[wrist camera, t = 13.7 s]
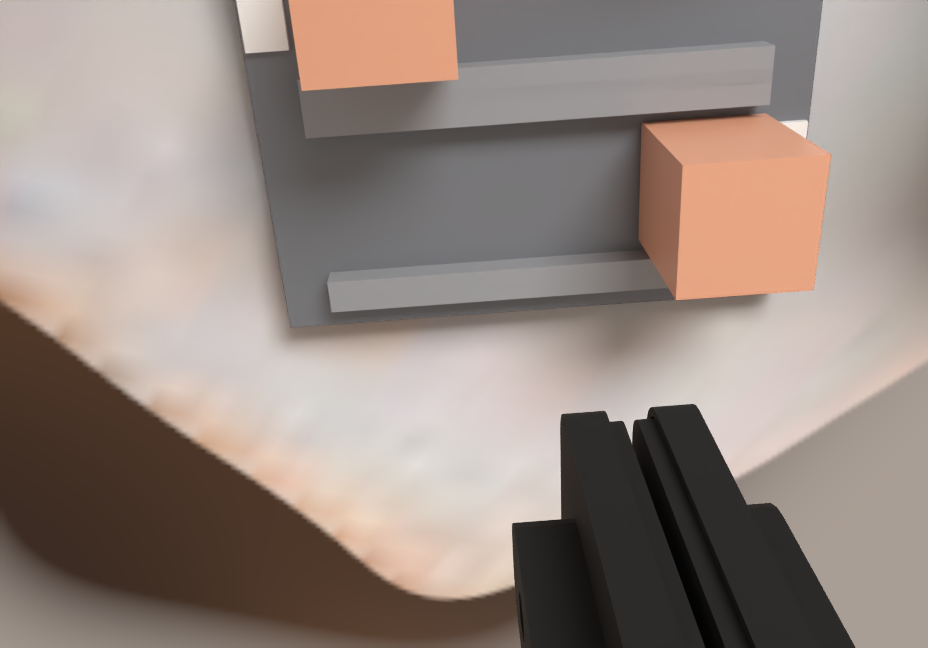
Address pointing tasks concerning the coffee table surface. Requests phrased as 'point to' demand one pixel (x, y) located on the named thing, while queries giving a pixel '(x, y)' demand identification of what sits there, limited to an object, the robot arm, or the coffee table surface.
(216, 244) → the coffee table surface
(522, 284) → the switch bank
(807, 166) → the orange cube
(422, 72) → the tab
